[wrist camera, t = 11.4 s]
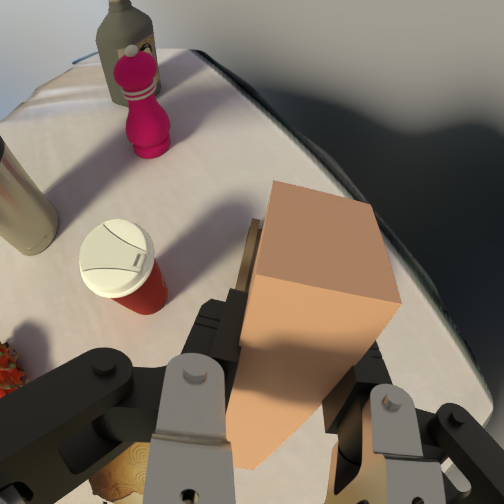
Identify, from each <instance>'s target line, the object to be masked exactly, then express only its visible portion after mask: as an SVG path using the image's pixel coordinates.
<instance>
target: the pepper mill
mask: <svg viewBox="0 0 504 504" xmlns="http://www.w3.org/2000/svg"><path fill="white" fill-rule="evenodd" d="M156 72H157V64H156V61H155V59H154V57H153V56H152V55H151V54H149V53H147V52H144V51H138V48H137V46H135V45H129V46H127V47H126V49H125V55H124V56H122V57H121V58H120V59H119V60H118V61H117V63H116V65H115V67H114V79H115V81H116V83H117V84H118V85H119V86H120V87H121V91H122V95H123V97H124V98H125V99H127V101H128V106H129V113H128V117H127V121H126V134H127V138H128V139H129V141H130V142H131V143H133V147H134V150H135V153H136V154H137V155H138V156H140V157H141V158H146V159H150V158H156V157H158V156H160V155H162V154H163V153H165V152H166V151H167V149H168V148H169V145H170V138H169V130H170V121H169V118H168V115H167V114H166V112H165V111H164V109H163V108H162V107H161V106H160V105H159V103H158V102H157V101H156V98H155V95H154V91H155V89H156V83H155V82H156V80H155V78H154V76H155V75H156Z"/></svg>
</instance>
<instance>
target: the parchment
mask: <svg viewBox="0 0 504 504" xmlns="http://www.w3.org/2000/svg"><path fill="white" fill-rule="evenodd" d="M149 448H150V443H144V442H135V443H134V444H133V445H131V446H130V447H129V448H128V449H127V450H125V451H124V452H123V453H121V454H120V455H119V456H118V457H116V458H115V459H114V460H113V461H111V462H110V463H109V464H107V465H106V466H105V467H103V468H102V469H101V470H99V471H98V472H97V473H96V474H94V475H93V476H92V477H90V478H89V482H90V484H91V487H92V490H93V495H98V496H100V497H101V498H103V499H105V500H106V501H110V502H112V503H114V504H142V502H143V493H144V485H145V477H146V470H147V462H148V455H149ZM103 504H107V502H103Z"/></svg>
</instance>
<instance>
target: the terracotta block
mask: <svg viewBox="0 0 504 504" xmlns="http://www.w3.org/2000/svg"><path fill="white" fill-rule="evenodd" d="M248 292H249V294H248V299H247V304H246V310H245V315H244V320H243V325H242V330H241V335H240V341H239V346H241V352H240V358H239V363H238V367H237V371H236V376H235V380H234V384H233V388H232V392H231V396H230V400H229V404H228V408H227V412H226V416H225V417H226V438H227V441H230V443H231V447H232V456H233V467H238V468H244V469H251V470H253V469H255V468H256V467H257V466H258V465H259V464H260V463H262V462H263V461H264V460H265V459H266V458H267V457H268V456H269V455H271V454H272V453H273V452H274V451H275V450H276V449H277V448H278V447H279V446H280V445H281V444H282V443H284V442H285V441H286V440H287V439H288V438H289V437H290V436H291V435H292V434H293V433H294V432H295V431H296V430H297V429H298V428H299V427H300V426H301V425H302V424H303V423H304V422H305V421H306V420H307V419H308V418H309V417H310V416H311V415H312V414H313V413H314V412H315V411H316V410H317V408H318V407H319V406H320V405H321V404H322V400H323V399H324V398H325V397H326V396H327V395H328V394H329V393H330V391H331V390H332V389H333V388H334V387H335V386H336V385H337V383H338V382H339V381H340V380H341V379H342V378H343V376H344V375H345V374H346V373H347V372H348V370H349V369H350V368H351V367H352V365H354V366H355V365H356V364H357V363H358V362H359V360H360V359H361V358H362V357H363V356H364V354H365V353H366V352H367V350H368V349H369V348H370V347H371V345H372V344H373V343H374V342H375V340H376V339H377V338H378V336H379V335H380V334H381V332H382V331H383V330H384V328H385V327H386V326H387V324H388V323H389V321H390V320H391V319H392V317H393V316H394V314H395V313H396V312H397V310H398V309H399V307H400V306H401V304H402V303H401V299H400V295H399V291H398V288H397V284H396V281H395V277H394V274H393V270H392V267H391V264H390V261H389V257H388V254H387V251H386V248H385V245H384V242H383V239H382V236H381V233H380V230H379V227H378V224H377V221H376V218H375V216H374V213H373V210H372V207H371V205H370V204H366V203H362V202H359V201H355V200H351V199H348V198H344V197H340V196H336V195H332V194H329V193H325V192H321V191H317V190H313V189H308V188H304V187H300V186H296V185H292V184H287V183H283V182H278V181H273V185H272V190H271V194H270V198H269V203H268V207H267V212H266V216H265V221H264V225H263V229H262V234H261V238H260V243H259V247H258V251H257V256H256V260H255V264H254V269H253V273H252V278H251V282H250V286H249V291H248Z"/></svg>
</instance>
